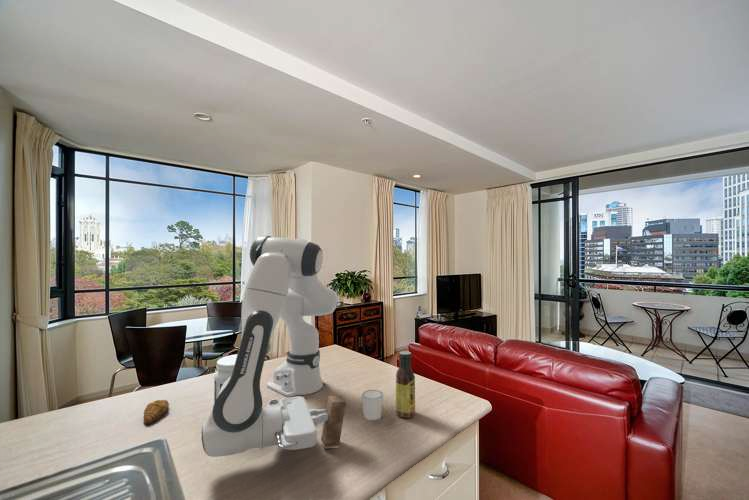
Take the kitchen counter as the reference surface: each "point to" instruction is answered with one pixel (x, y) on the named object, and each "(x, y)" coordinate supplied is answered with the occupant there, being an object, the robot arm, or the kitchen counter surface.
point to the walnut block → (333, 422)
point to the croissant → (155, 411)
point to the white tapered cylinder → (372, 404)
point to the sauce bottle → (405, 387)
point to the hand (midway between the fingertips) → (326, 414)
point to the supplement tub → (223, 372)
